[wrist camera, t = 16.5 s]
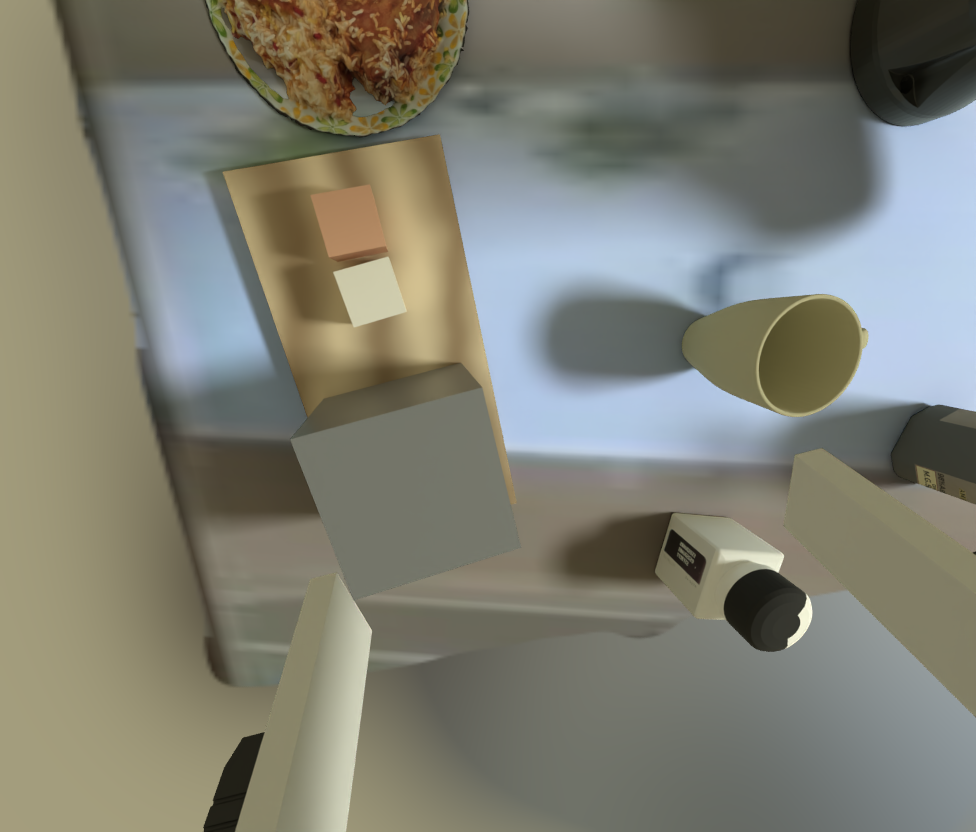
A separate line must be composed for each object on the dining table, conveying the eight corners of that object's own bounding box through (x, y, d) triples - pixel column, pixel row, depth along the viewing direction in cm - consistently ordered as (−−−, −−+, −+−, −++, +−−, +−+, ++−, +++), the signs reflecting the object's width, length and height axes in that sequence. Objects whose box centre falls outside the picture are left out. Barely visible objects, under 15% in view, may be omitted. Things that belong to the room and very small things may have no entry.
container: (652, 572, 49) (734, 663, 37) (671, 511, 48) (763, 585, 35) (710, 576, 51) (807, 664, 39) (730, 516, 49) (838, 589, 37)
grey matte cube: (461, 362, 38) (482, 387, 27) (491, 484, 41) (521, 547, 31) (323, 398, 36) (289, 439, 26) (367, 520, 40) (353, 600, 29)
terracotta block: (374, 197, 33) (369, 184, 29) (388, 251, 34) (385, 245, 31) (321, 207, 33) (310, 195, 29) (337, 261, 34) (328, 257, 30)
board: (438, 141, 34) (439, 134, 33) (513, 496, 44) (516, 502, 42) (230, 177, 33) (222, 172, 31) (354, 540, 42) (352, 548, 40)
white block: (390, 261, 35) (388, 256, 31) (406, 310, 36) (406, 311, 32) (341, 274, 34) (333, 272, 30) (359, 324, 35) (353, 327, 32)
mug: (703, 409, 45) (804, 447, 34) (644, 346, 42) (733, 364, 31) (778, 329, 44) (907, 339, 33) (723, 259, 41) (844, 244, 30)
